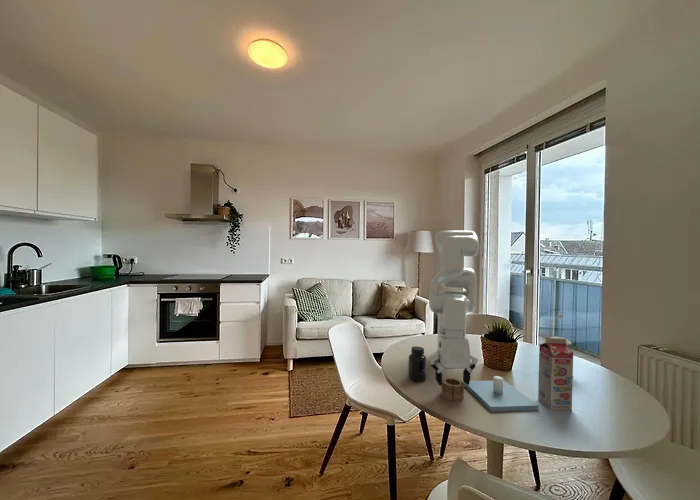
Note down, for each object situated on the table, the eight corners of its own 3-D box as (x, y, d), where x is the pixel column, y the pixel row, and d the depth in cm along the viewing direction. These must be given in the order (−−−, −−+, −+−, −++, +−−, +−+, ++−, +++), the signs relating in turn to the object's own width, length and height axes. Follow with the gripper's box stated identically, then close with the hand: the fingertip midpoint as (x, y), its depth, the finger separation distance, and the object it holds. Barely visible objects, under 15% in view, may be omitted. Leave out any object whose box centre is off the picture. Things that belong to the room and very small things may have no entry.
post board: (463, 385, 110) (463, 367, 110) (503, 384, 112) (504, 367, 112) (490, 411, 93) (491, 390, 93) (538, 410, 94) (538, 389, 94)
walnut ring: (438, 391, 105) (438, 377, 105) (457, 391, 106) (457, 377, 106) (446, 401, 98) (447, 386, 98) (466, 401, 99) (467, 386, 99)
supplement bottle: (426, 383, 111) (427, 352, 111) (407, 381, 112) (408, 350, 112) (425, 376, 118) (426, 346, 118) (408, 374, 119) (408, 344, 119)
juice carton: (538, 399, 101) (539, 335, 101) (557, 399, 101) (559, 335, 101) (550, 409, 95) (552, 341, 94) (571, 410, 94) (573, 341, 94)
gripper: (433, 336, 97) (432, 388, 97) (483, 336, 99) (482, 387, 98) (425, 330, 104) (424, 378, 104) (472, 330, 106) (471, 378, 106)
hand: (452, 383), depth 101 cm, fingers open, 9 cm apart
